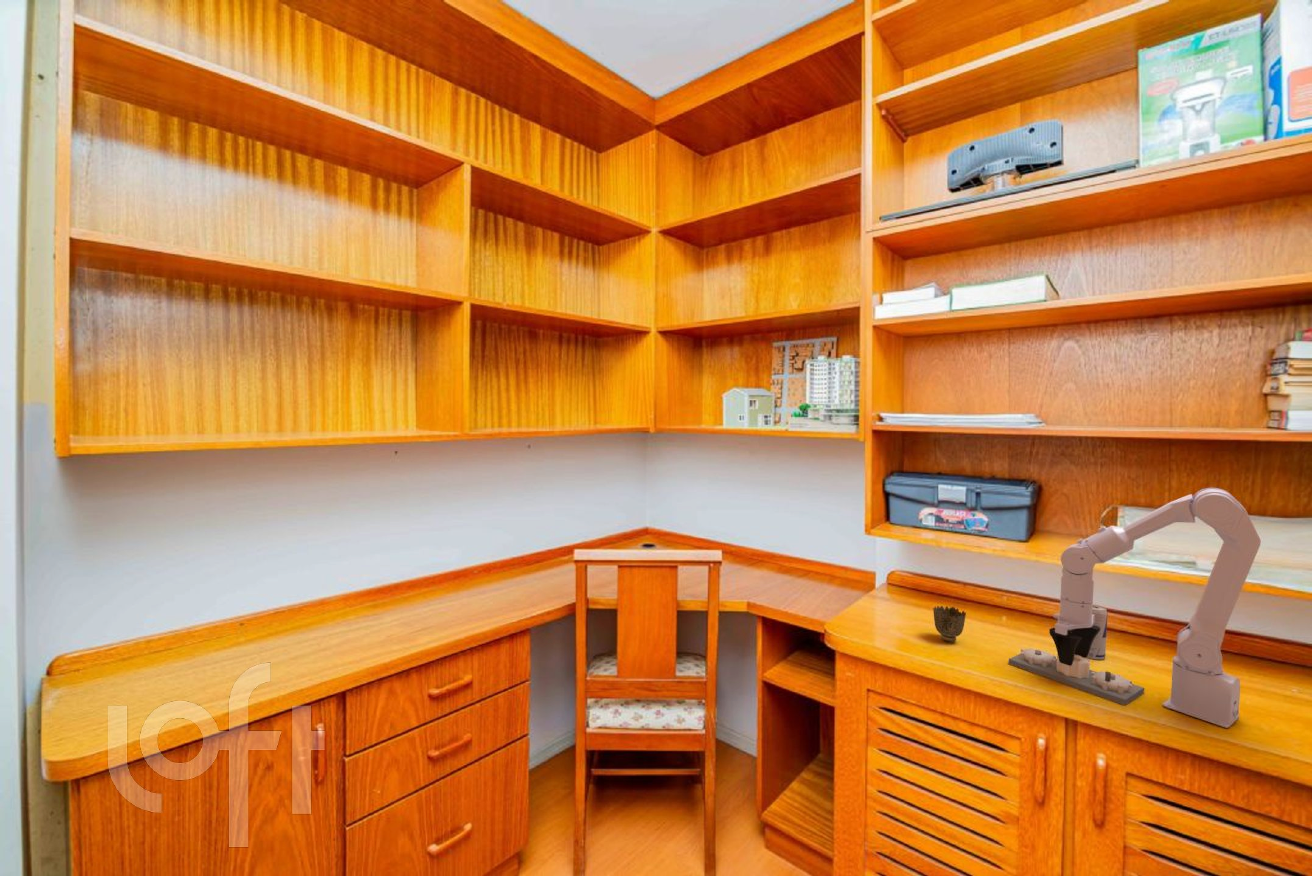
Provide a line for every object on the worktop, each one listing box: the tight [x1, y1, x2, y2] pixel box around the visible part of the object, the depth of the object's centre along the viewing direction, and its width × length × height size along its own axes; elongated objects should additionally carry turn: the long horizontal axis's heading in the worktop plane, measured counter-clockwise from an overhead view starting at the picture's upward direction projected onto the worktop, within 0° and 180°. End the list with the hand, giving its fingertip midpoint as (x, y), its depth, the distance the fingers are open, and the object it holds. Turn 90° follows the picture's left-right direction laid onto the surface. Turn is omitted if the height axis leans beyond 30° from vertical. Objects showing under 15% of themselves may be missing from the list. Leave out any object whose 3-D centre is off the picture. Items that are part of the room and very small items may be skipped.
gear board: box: [1007, 647, 1145, 706], centre depth 125 cm, size 22×10×4 cm, turn 32°
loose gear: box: [1056, 653, 1091, 679], centre depth 125 cm, size 6×6×3 cm
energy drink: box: [1086, 604, 1108, 661], centre depth 137 cm, size 5×5×12 cm
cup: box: [932, 605, 967, 644], centre depth 144 cm, size 8×7×8 cm
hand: (1073, 659), depth 125 cm, fingers open, 7 cm apart
